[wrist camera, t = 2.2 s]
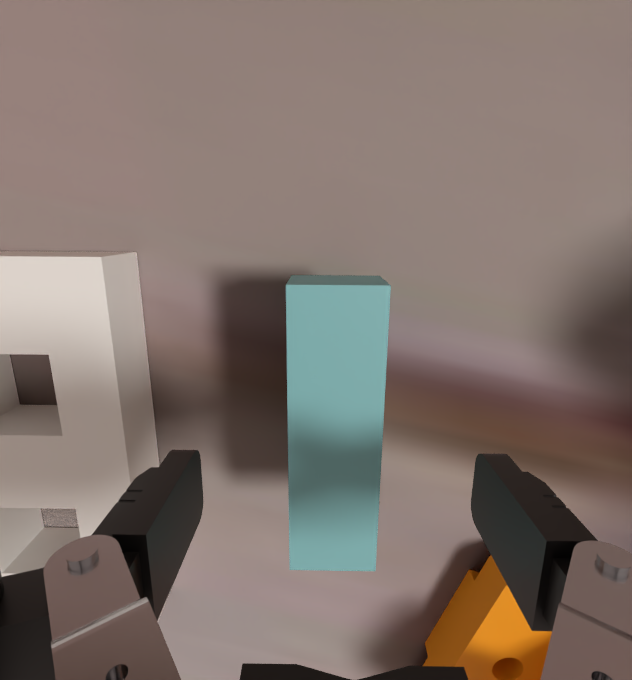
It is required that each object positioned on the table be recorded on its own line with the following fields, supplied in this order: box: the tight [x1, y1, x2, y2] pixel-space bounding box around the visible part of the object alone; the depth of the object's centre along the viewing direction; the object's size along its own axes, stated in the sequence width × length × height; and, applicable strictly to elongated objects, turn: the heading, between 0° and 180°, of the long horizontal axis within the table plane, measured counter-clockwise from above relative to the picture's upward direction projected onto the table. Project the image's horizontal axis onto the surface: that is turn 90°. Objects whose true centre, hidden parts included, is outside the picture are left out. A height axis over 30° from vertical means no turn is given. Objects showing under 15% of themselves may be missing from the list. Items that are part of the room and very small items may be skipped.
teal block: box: [286, 275, 391, 571], centre depth 16 cm, size 10×3×6 cm, turn 0°
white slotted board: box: [0, 251, 172, 622], centre depth 19 cm, size 18×9×3 cm, turn 0°
